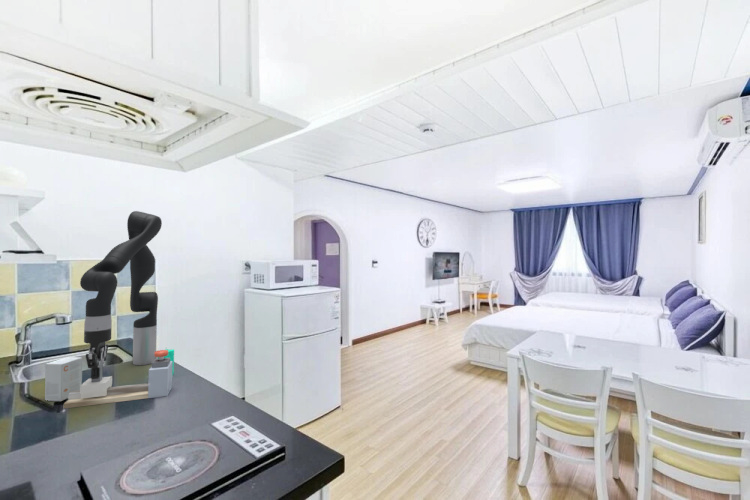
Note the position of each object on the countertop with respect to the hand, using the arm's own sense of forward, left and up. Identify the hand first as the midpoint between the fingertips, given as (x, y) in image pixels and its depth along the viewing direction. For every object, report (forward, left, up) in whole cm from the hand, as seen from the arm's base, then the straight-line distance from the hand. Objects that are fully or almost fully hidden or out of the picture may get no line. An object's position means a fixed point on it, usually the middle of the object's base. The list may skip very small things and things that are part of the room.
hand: (97, 376), depth 121 cm
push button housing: (0, +19, -8) cm, 21 cm away
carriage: (0, 0, -6) cm, 6 cm away
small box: (-7, -12, -8) cm, 16 cm away
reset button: (0, +19, +4) cm, 20 cm away
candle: (-20, +18, -8) cm, 28 cm away
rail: (0, +4, -8) cm, 9 cm away
